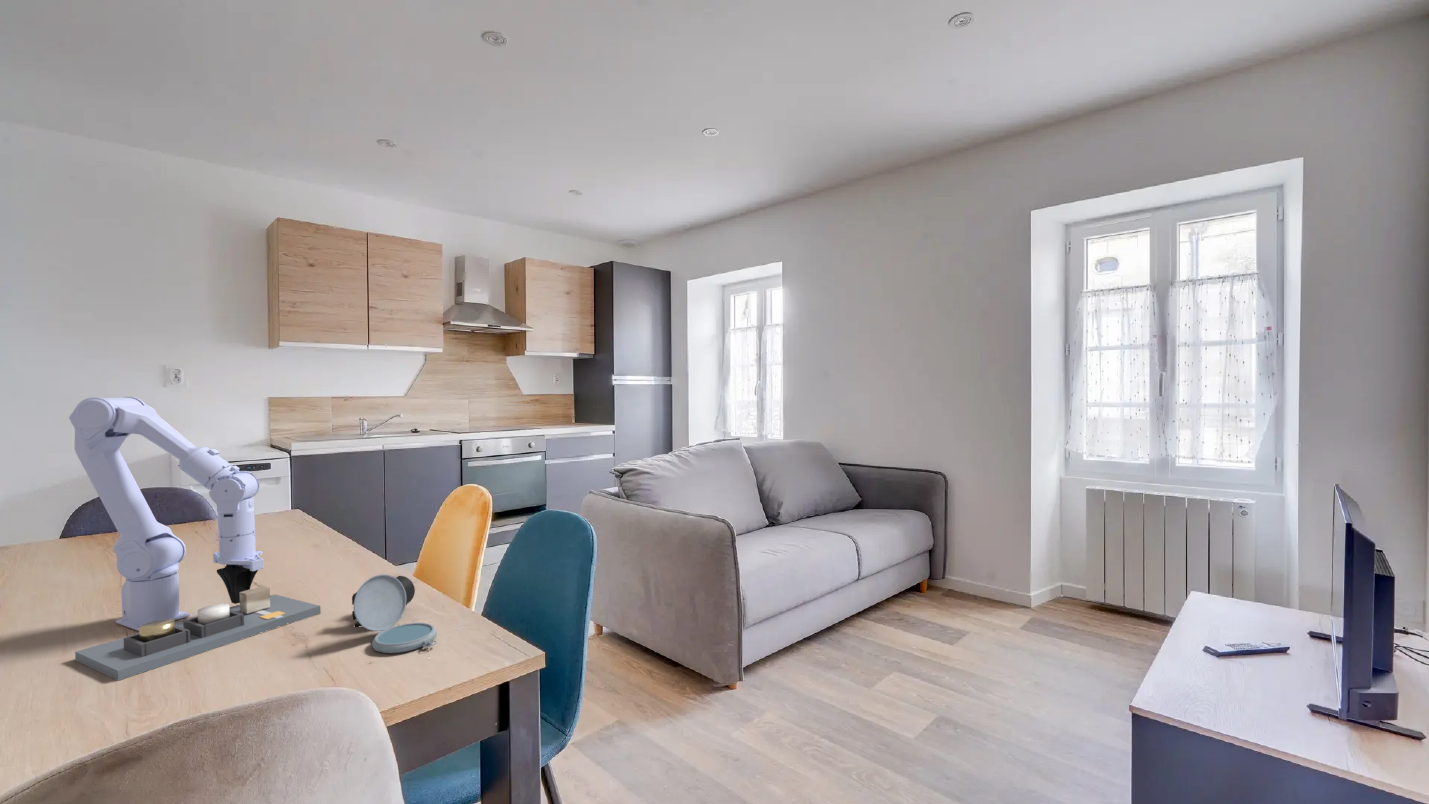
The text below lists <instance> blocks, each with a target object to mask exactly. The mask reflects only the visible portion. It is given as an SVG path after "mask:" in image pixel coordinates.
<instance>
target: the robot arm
mask: <svg viewBox="0 0 1429 804" xmlns="http://www.w3.org/2000/svg"><path fill="white" fill-rule="evenodd" d="M68 419H69V420H70V423H71V424H72V427H73V429H74V452H75V454H76V456H77V458H78V459H79V461H80V463H81V466H82V467H83V469H84V470H85V472H86V474H87V477H88V479H89V480H90V482H91V484H92V486H93V488H94V489H95V492H96V493H97V495H98V497H99V498H100V500H101V503H102V504H103V506H104V508H105V510H106V512H107V514H108V515H109V517H110V519H111V522H112V523H113V525H114V527H115V529H116V531H117V532H118V534H119V537H118V538H117V540H116V542H115V543H114V546H113V548H112V549H113V551H114V553H115V556H116V565H115V566H116V570H117V571H118V573H119V574H120V575H121V576H122V577H124V578H125V582H124V583H123V585H122V587H121V591H120V592H121V612H122V618H119V619H116V620H115V623H116V624H118V625H121V626H124V627H126V628H129V629H132V630H135V631H139V627H140V626H142V625H144V624H146V623H149V622H153V621H157V620H164V619H173V620H174V621H177V620H180V619H185V618H188V617H190V616H191V614H190V613H188V612H185V611H182V610H181V607H180V581H179V579H180V578H179V576H180V575H179V569H180V563H181V562H182V561H183V560H184V558H185V557H186V555H187V547H186V543H185V542H184V541H183V540H182V539H181V538H179V537H178V536H176V535H175V534H174V533H173V531H172V529H171V527H169V526H167V525H166V524H163V523H160V522H159V521H157V519H156V518H155V516H154V514H153V511H152V509H151V508H150V506H149V505H148V502H147V500H146V499H145V496H144V495H143V493H142V490H141V489H140V487H139V485H138V483H137V482H136V480H135V478H134V476H133V474H132V472H131V470H130V468H129V466H128V464H127V463H126V460H125V459H124V458H125V457H123V455H122V453H121V451H120V448H121V446H122V445H123V443H124V442H125V440H126V439H127V438H128V437H129V436H131V435H140V436H142V437H143V438H145V439H147V440H148V441H150V442H152V443H153V444H155V445H156V446H158V447H159V448H160V449H162V450H164V451H165V452H166V453H169V454H170V455H171V456H173V457H174V458H176V459H178V463H179V469H180V470H181V471H182V472H183V473H185V474H186V475H188V476H189V477H190V478H191V479H193V480H195V481H196V482H198V483H199V484H200V485H202V486H203V487H204V488H206V489H207V490H208V494H209V497H210V499H211V500H212V501H213V503H215V505H216V512H217V532H218V535H217V536H218V552H213V553H212V556H213V558H212V560H213V563H215V564H220V565H225V566H224V567H222V568H218V569H217V570H216V574H218V576H219V577H220V578H221V580H222V582H223V583H224V586H225V588H226V590H227V593H228V596H229V600H230V602H231V604H235V605H238V604H240V592H243V591H246V590H250V589H251V586H252V584H253V581H254V579H255V577H256V574H257V573H258V571H259V570H260V571H261V570H263V569H264V568H265V566H264V565H265V562H264V560H265V559H264V558H261V557H260V556H262V555H263V551H261V550H256V549H257V547H256V544H257V543H256V520H255V519H256V515H255V498H254V497H255V496H256V495H257V494H258V492H259V490H260V482H259V480H258V478H257V477H256V475H254V473H253V472H251V471H248V470H240V467H238V466H237V465H232V464H231V463H230V462H228V461H227V460H226V459H224V458H223V457H222V456H220V455H219V454H220V451H219V450H217V449H216V448H209V447H208V446H199V447H198V446H196V445H195V444H194V443H192V442H191V441H190V440H188V439H187V438H186V437H185V436H184V435H182V434H181V433H180V432H179V431H177V429H176V428H174V427H173V426H171V425H170V424H169V423H168V422H167V421H166V420H164V419H163V418H162V417H161V416H160V415H159V414H158V412H157V410H156V409H155V408H154V407H152V406H150V405H147V403H146V402H144V401H143V400H142V399H140V398H138V397H135V396H122V397H100V396H99V397H98V396H93V397H88V398H85V399H82V400H81V401H80V402H79V403H78V404H76V407H75V408H74V409H73V411H72V412H71V414H70V415H69V417H68Z"/></svg>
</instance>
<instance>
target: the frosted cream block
mask: <svg viewBox="0 0 1429 804" xmlns="http://www.w3.org/2000/svg"><path fill="white" fill-rule="evenodd" d="M270 589H271V588H270V587H268V586H264V585H262V586H258V587H254V588H250V590H246V591H243V592H240V603H239V605H240V612H242V613H246V614H248V613H251V612H255V611H258V610H261V609H265V608H268V607H270V596H271V593H270V592H271V591H270Z"/></svg>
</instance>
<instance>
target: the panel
mask: <svg viewBox="0 0 1429 804" xmlns="http://www.w3.org/2000/svg"><path fill="white" fill-rule="evenodd" d="M229 610H230V617H229V618H226V619H223V620H219V621H216V622H213V623H209V624H199V623H198V616H195V617H191V618H188V619H185V620H181V621H178V622H177V621H176V622H175V633H174V634H173V635H169V636H166V637H162V638H159V639H156V640H152V641H140V640H139V632H138V633H136V634H132V635H128V636H125V637H122V638H118V639H115V640H112V641H107V642H103V643H101V644H98V645H94V646H90V647H87V648H84V649H83V648H82V649H80V650H79V649H78V650H76V651H74V655H75V658H74V659H75V661H76V662H78V663H80V664H82V665H84V666H87V667H89V668H91V669H93V670H95V671H97V672H99V673H102V674H104V675H106V676H108V677H110V678H112V679H115V680H117V681H120V680H123V679H124V680H125V679H127V678H131V677H133V676H136V675H139V674H141V673H145V672H149V671H151V670H155V669H157V668H160V667H163V666H165V665H169V664H172V663H175V662H179V661H181V660H184V659H187V658H190V657H194V656H196V655H199V654H203V653H205V652H208V651H211V650H214V649H217V648H220V647H223V646H226V645H230V644H232V643H235V642H238V641H241V640H240V639H242V638H245V639H248V638H250V637H249V636H251V635H254V636H257V635H259V634H258V633H260V632H263V633H266V632H267V631H266V630H269V629H272V630H275V629H277V628H276V627H278V626H281V627H284V626H286V624H287V623H290V624H292V622H293V623H296V622H298V621H297V620H299V621H302V620H305V619H308V618H312V617H314V616H316V615H319V614H322V613H321V605H318V604H315V603H310V602H306V601H303V600H299V599H295V598H291V597H287V596H283V595H278V594H272V595H271V594H270V607H268V608H265V609H261V610H258V611H255V612H251V613H248V614H246V613H242V612H240V604H235V605H233V606H229ZM304 618H305V619H304ZM295 621H296V622H295ZM283 625H284V626H283ZM287 625H288V624H287ZM274 628H275V629H274ZM278 628H279V627H278ZM265 631H266V632H265ZM269 631H270V630H269ZM256 634H257V635H256ZM260 634H261V633H260ZM247 637H248V638H247ZM251 637H252V636H251ZM242 640H243V639H242ZM193 655H194V656H193Z"/></svg>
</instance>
